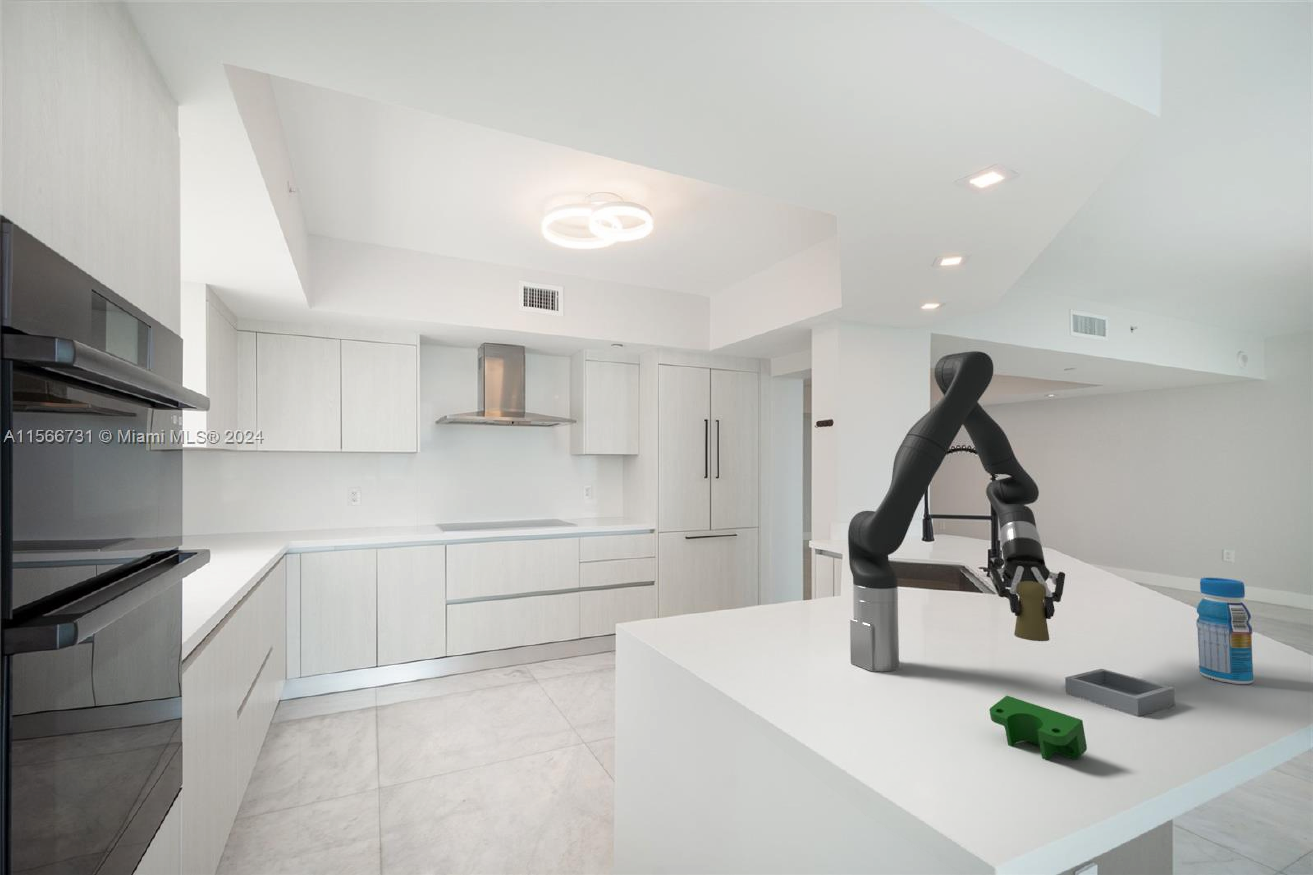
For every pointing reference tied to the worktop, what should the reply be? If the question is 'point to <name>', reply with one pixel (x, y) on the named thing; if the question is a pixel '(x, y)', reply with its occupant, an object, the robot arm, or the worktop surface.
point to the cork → (1031, 612)
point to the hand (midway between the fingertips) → (1033, 615)
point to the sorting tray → (1120, 691)
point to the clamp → (1040, 727)
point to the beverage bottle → (1224, 632)
